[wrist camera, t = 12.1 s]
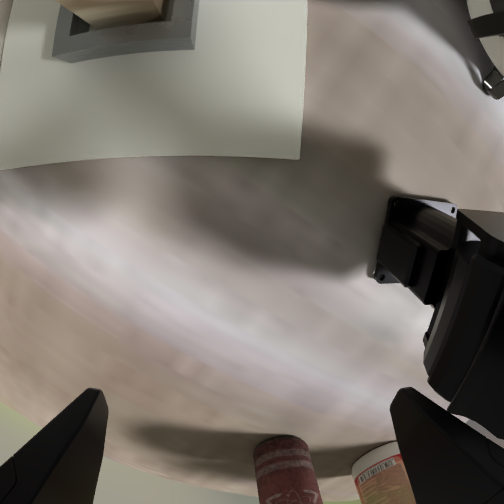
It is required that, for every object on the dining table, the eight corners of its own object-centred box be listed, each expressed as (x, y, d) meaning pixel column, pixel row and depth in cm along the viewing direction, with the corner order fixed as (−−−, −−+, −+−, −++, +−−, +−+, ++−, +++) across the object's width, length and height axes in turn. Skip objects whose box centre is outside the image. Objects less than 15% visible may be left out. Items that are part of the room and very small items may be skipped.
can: (239, 452, 29) (251, 561, 16) (283, 428, 28) (309, 548, 15) (274, 465, 31) (292, 561, 18) (316, 443, 30) (346, 546, 17)
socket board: (303, -89, 10) (306, -96, 9) (295, 158, 18) (299, 159, 17) (42, -62, 8) (37, -67, 7) (6, 168, 16) (-2, 170, 15)
